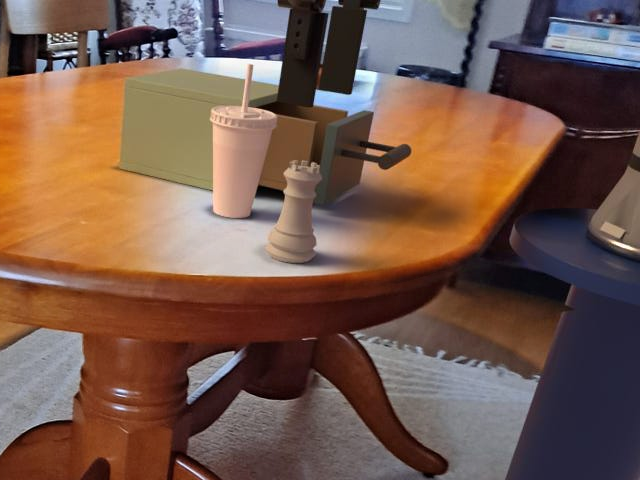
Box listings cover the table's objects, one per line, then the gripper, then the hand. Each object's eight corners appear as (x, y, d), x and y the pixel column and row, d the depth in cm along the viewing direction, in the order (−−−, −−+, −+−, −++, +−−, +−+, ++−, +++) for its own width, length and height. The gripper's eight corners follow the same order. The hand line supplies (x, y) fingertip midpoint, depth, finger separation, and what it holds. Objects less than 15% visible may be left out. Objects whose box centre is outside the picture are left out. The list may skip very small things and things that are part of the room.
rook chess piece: (297, 245, 76) (312, 156, 72) (325, 262, 72) (342, 170, 69) (254, 248, 74) (267, 157, 70) (281, 266, 71) (296, 171, 67)
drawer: (406, 194, 92) (423, 120, 88) (375, 217, 83) (392, 136, 79) (250, 160, 99) (259, 91, 96) (205, 178, 90) (214, 102, 87)
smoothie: (196, 217, 81) (213, 64, 74) (202, 199, 86) (218, 55, 80) (262, 225, 80) (285, 72, 74) (264, 207, 86) (285, 63, 79)
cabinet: (282, 174, 99) (296, 88, 94) (236, 196, 89) (249, 100, 84) (173, 150, 105) (181, 68, 100) (119, 168, 95) (124, 77, 90)
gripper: (368, -222, 66) (318, 78, 77) (259, -291, 50) (215, 105, 60) (464, -221, 63) (398, 91, 74) (382, -294, 46) (312, 123, 57)
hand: (315, 97), depth 67 cm, fingers open, 8 cm apart
